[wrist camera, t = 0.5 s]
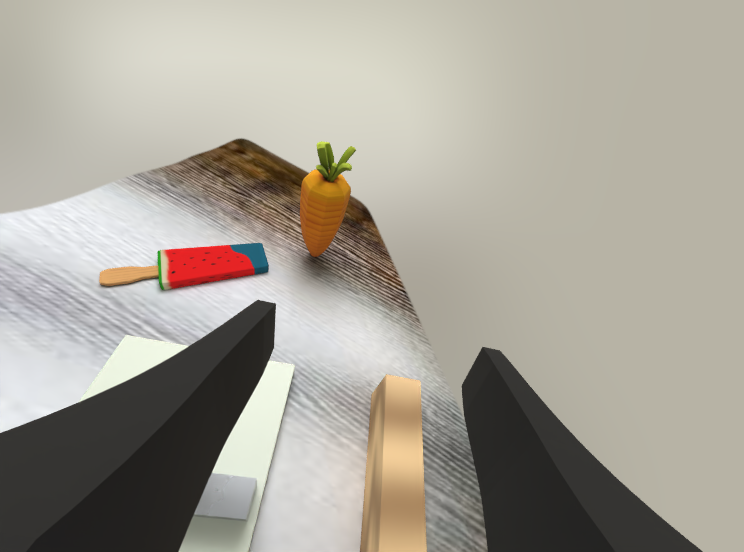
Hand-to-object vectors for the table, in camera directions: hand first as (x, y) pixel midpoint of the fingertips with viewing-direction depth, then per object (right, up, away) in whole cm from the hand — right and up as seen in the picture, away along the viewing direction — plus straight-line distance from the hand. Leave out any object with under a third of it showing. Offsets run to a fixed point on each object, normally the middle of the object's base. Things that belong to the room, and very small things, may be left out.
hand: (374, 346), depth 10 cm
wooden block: (+1, -16, +12) cm, 20 cm away
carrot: (-7, +5, +28) cm, 29 cm away
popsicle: (-19, +3, +22) cm, 30 cm away
